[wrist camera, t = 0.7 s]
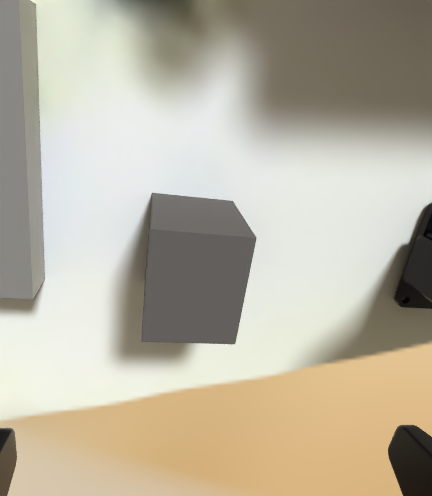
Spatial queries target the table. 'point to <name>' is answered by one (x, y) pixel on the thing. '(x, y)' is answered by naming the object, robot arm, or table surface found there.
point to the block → (195, 270)
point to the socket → (20, 154)
